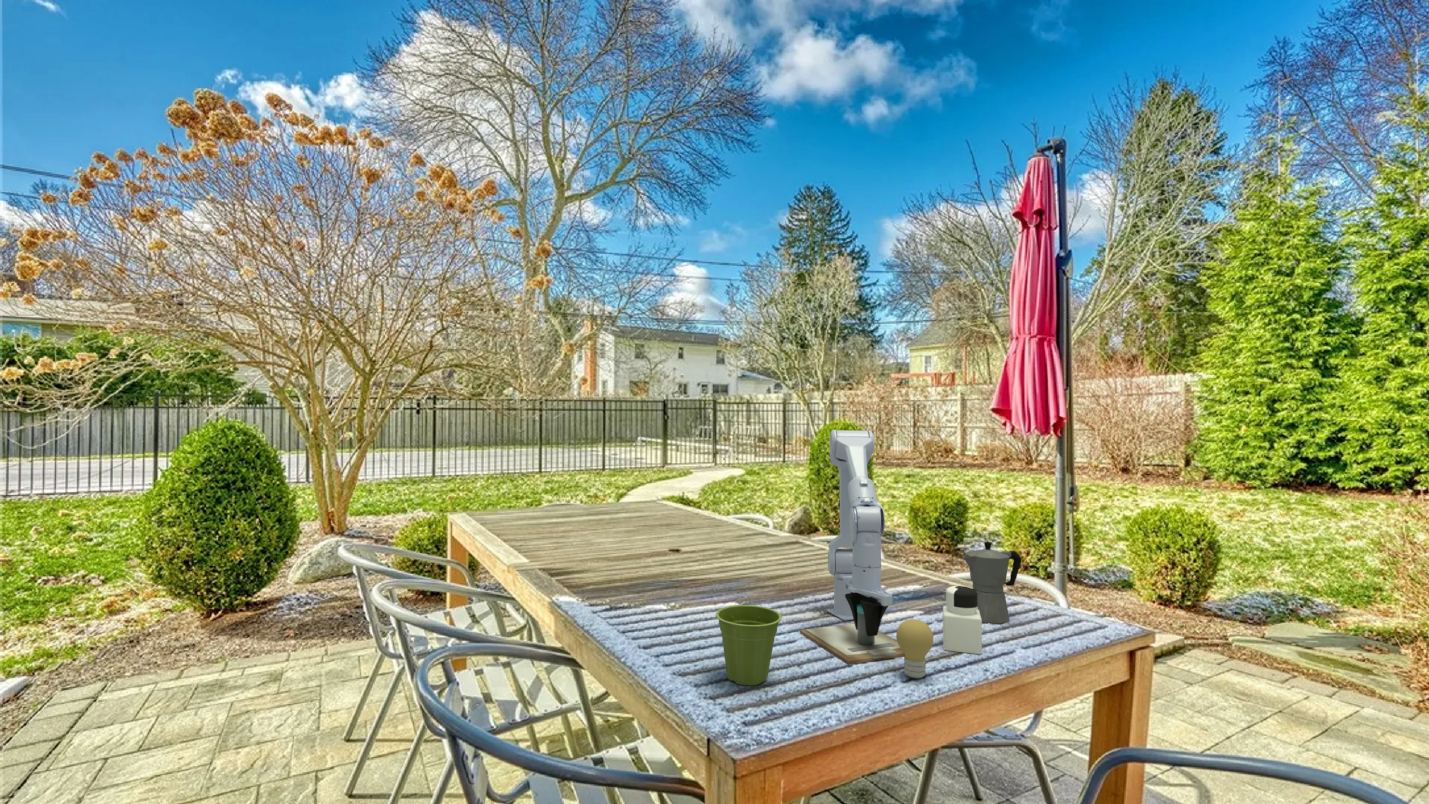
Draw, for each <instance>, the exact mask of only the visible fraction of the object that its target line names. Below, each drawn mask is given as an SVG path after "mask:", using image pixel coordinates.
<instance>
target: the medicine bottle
mask: <svg viewBox="0 0 1429 804" xmlns="http://www.w3.org/2000/svg"><path fill="white" fill-rule="evenodd" d="M972 588H973V587H969V586H965V585H964V586H963V585H952V586H949V587H947V588H946V589H945V605H943V606H942V645H943V650H944V651H949V652H957V653H963V654H964V653H966V654H972V655H973V654H974V655H982V654H983V652H982V651H983V645H982V644H983V642H982V640H983V639H982V638H983V631H982V629H983V625H982V624H983V623H982V619H981V616H980V612H979V610H978V593H977V592H976V591H975V590H974V589H972Z"/></svg>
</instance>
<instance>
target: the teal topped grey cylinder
mask: <svg viewBox="0 0 1429 804" xmlns="http://www.w3.org/2000/svg"><path fill="white" fill-rule="evenodd" d="M857 612H858V643H860V644H864V645H872V644H874V643H875V636H867V633H866V626H865V616H864V612H863V608H862V606H861V604H858V605H857Z"/></svg>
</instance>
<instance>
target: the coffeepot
mask: <svg viewBox="0 0 1429 804" xmlns="http://www.w3.org/2000/svg"><path fill="white" fill-rule="evenodd" d="M983 544H984V549H978V550H977V549H976V550H970V551H967V552H966V553H965V554H963V555H962V556H961V558H962V559H963V560H964V561H965V563H966V565H967V566H968V569H969V575H970V576H969V577H970V581H971V582H972V587H971V588H972V589H974V590H975V591H976V592H977V593H978V610H979V612H980V616H981V619H982V624H988V623H990V624H989V625H1003V624H1007V623H1009V621H1010V616H1009V609H1008V604H1007V599H1006V593H1005V592H1004V586H1007V587H1012V586H1014V585H1015V583H1016V581H1017V577H1018V574H1019V571H1020V567H1021V564H1022V558H1021V556H1020V555H1019V554H1018V552H1017V551H1015V550H1009V551H1007V550H1004V551H1003V550H1001V551H997V550H993V549H991V548H992V542H991V541H984V542H983ZM1010 560H1013V562H1012V569H1011V572H1010V576H1009V577H1010V580H1009V581H1007V574H1008V570H1009V569H1008V568H1009V564H1010V563H1009V562H1010Z"/></svg>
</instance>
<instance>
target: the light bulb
mask: <svg viewBox="0 0 1429 804" xmlns="http://www.w3.org/2000/svg"><path fill="white" fill-rule="evenodd" d="M896 640H897V642H898V644H899V646H900V648H901V650H902V651H903V652H904V654H905V656H903V661H904V662H903V666H904V667H903V673H904V674H905V675H906V676H907V677H909V678H912V679H922V678H923V677H925V676H926V674H927V673H926V672H927V671H926V669H927V668H926V662H927V661H926V659H925V657H926V656H927V655H928V654H929V652H931V650H932V647H933V645H934V634H933V631H932V629H931V628H930V626H929V625H928V624H927V623H926V622H924V621H923V620H920V619H918V618H917V619H916V618H910V619H905V620H904V621H902V622H901V623H900V624H899V625H898V627H897V631H896Z"/></svg>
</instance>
